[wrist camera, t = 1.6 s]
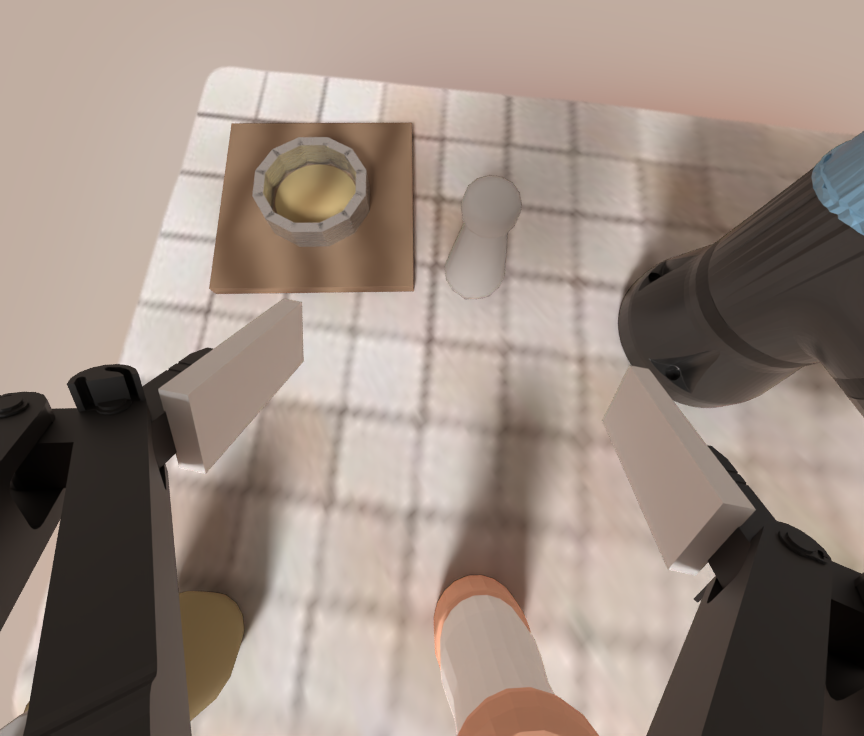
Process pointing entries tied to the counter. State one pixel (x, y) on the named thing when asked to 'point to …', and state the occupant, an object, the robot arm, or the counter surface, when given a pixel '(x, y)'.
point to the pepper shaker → (496, 666)
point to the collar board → (316, 209)
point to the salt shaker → (483, 237)
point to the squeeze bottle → (195, 650)
